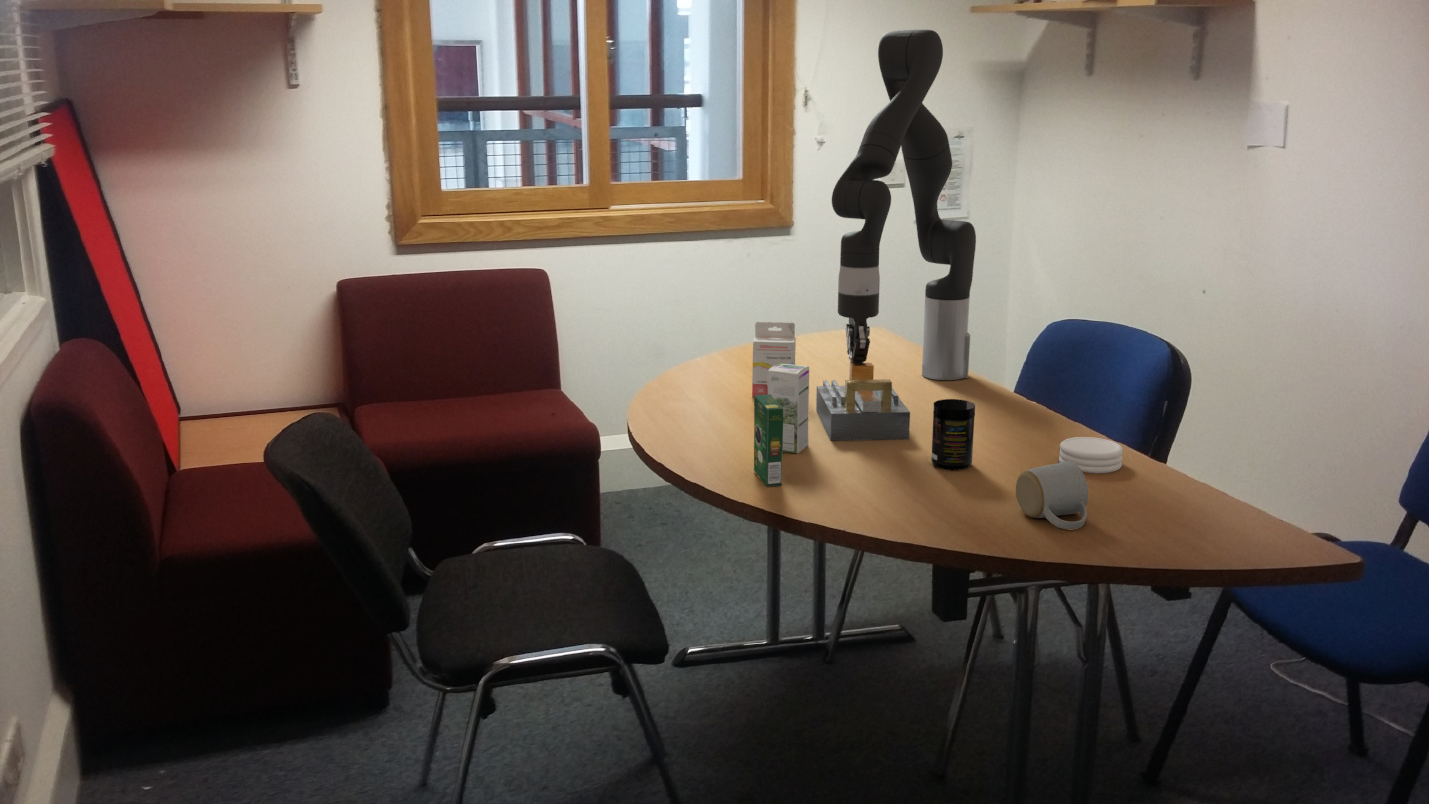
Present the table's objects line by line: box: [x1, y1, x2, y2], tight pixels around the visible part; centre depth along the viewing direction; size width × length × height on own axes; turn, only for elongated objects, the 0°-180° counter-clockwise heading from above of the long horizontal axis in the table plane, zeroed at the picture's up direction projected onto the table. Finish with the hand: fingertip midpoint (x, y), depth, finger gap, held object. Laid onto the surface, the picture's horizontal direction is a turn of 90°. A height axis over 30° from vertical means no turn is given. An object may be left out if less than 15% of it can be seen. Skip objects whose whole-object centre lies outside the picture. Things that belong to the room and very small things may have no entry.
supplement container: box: [930, 398, 976, 471], centre depth 191 cm, size 7×7×10 cm
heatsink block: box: [815, 378, 911, 442], centre depth 214 cm, size 14×19×10 cm
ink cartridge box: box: [751, 321, 797, 398], centre depth 234 cm, size 9×5×15 cm, turn 84°
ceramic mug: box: [1015, 461, 1089, 530], centre depth 168 cm, size 11×8×8 cm
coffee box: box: [753, 395, 784, 488], centre depth 185 cm, size 8×3×13 cm, turn 13°
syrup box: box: [768, 363, 810, 454], centre depth 200 cm, size 6×6×14 cm
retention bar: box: [848, 362, 880, 412], centre depth 209 cm, size 4×12×6 cm, turn 3°
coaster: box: [1058, 436, 1124, 474], centre depth 193 cm, size 10×10×4 cm
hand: (856, 380), depth 218 cm, fingers closed
